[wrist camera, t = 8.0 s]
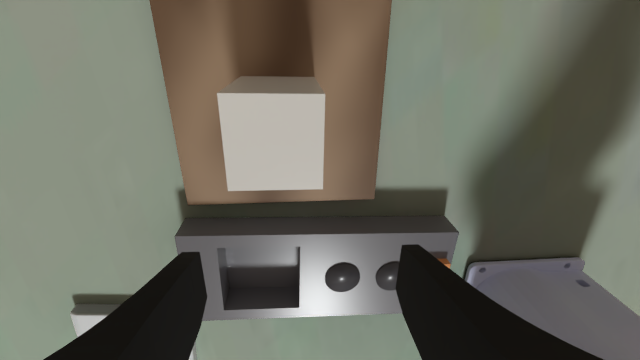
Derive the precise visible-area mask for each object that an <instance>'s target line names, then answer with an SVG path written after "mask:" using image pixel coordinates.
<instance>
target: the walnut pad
mask: <svg viewBox="0 0 640 360" xmlns="http://www.w3.org/2000/svg"><path fill="white" fill-rule="evenodd" d="M391 3H392V0H150V5H151V11H152V16H153V21H154V27H155V32H156V37H157V43H158V48H159V53H160V59H161V64H162V69H163V75H164V80H165V86H166V91H167V96H168V102H169V107H170V112H171V118H172V123H173V128H174V134H175V139H176V144H177V150H178V155H179V160H180V166H181V171H182V176H183V182H184V187H185V193H186V198H187V203H188V205H206V204H236V203H267V202H298V201H329V200H360V199H374V196H375V185H376V173H377V162H378V151H379V139H380V128H381V116H382V105H383V94H384V82H385V71H386V60H387V48H388V37H389V25H390V14H391ZM240 76H279V77H315V78H316V80H317V81H318V83H319V85H320V86H321V88H322V89H323V91H324V93H325V126H324V166H323V189H312V190H259V191H228V187H227V179H226V170H225V161H224V152H223V143H222V134H221V125H220V116H219V107H218V98H217V93H218V92H219V91H221V90H222V89H223V88H225V87H226V86H228V85H229V84H231V83H232V82H233V81H235V80H236V79H238V78H239V77H240Z"/></svg>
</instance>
